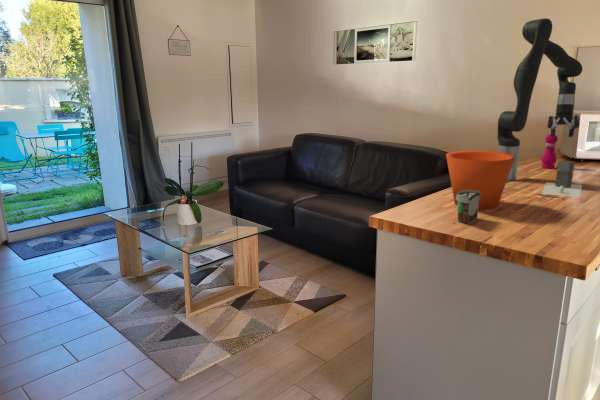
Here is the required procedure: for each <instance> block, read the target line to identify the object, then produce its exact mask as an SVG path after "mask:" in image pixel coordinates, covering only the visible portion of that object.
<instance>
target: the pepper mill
mask: <svg viewBox="0 0 600 400" xmlns="http://www.w3.org/2000/svg"><path fill="white" fill-rule="evenodd" d="M549 133H550V134H547V135H546V136H545V138H544V141H545V151H544V153H543V155H542V157H541V160H540V161H541V163H542V164H541V168H542V169H545V170H546V169H548V170H549V169H550V170H554V169H555V166H556V165H555V163H556V162H557V155H556V152H555V148H556V146H557V142H558V140H559V138H558V136H557V135H556V134H555V137H551V131H550V132H549Z"/></svg>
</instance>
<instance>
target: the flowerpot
mask: <svg viewBox="0 0 600 400" xmlns="http://www.w3.org/2000/svg"><path fill="white" fill-rule="evenodd" d="M445 158H446V161H447V168H448V173H449V178H450V183H451V184H450V185H451V190H452V195H453V201H454V204H455V205H456V206H457V205H458V201H457V200H456V196H457V194H458V192H460V191H465V190H477V191H480V197H479V206H478V209H488V210H494V209H496V208H497V207H499V204H500V200H501V198H502V195H503V193H504V190H505V187H506V185H507V182H506V181H507V179H508V176H509V173H510V170H511V167H512V165H513V162H514V159H515V156H514V155H512V154H508V153H503V152H498V151H494V150H472V149H471V150H457V151H456V150H454V151H451V152H446V154H445ZM493 208H494V209H493Z"/></svg>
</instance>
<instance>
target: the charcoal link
mask: <svg viewBox="0 0 600 400" xmlns="http://www.w3.org/2000/svg"><path fill="white" fill-rule="evenodd" d="M574 167H575V161H569V160H561V161H560V160H559V161H558V163H557V171H556V179H555V183H556V184H555V186H557V187H560V186H564V188H568V187H571V184H573V183H572V181H573V177H574V176H573V175H574Z"/></svg>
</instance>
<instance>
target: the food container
mask: <svg viewBox="0 0 600 400" xmlns="http://www.w3.org/2000/svg"><path fill="white" fill-rule="evenodd" d="M479 197H480V191H477V190H465V191H460V192H458V194H457V196H456V200H457V201H458V206H457V222H459V223H461V224H462V223H463V225H466V224H467V226H469V225H470V224H472V223H473V222H474V221H476V220H477V219H478V214H479V213H478V212H479V210H478V206H479ZM476 218H477V219H476ZM473 220H474V221H473ZM472 221H473V222H472ZM468 224H469V225H468Z"/></svg>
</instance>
